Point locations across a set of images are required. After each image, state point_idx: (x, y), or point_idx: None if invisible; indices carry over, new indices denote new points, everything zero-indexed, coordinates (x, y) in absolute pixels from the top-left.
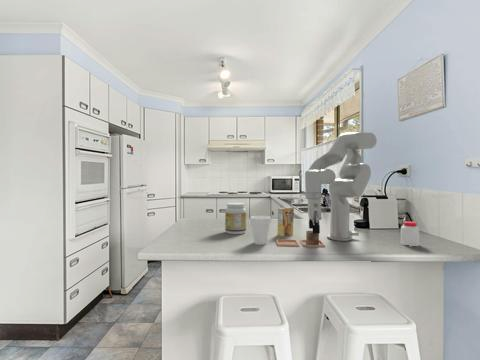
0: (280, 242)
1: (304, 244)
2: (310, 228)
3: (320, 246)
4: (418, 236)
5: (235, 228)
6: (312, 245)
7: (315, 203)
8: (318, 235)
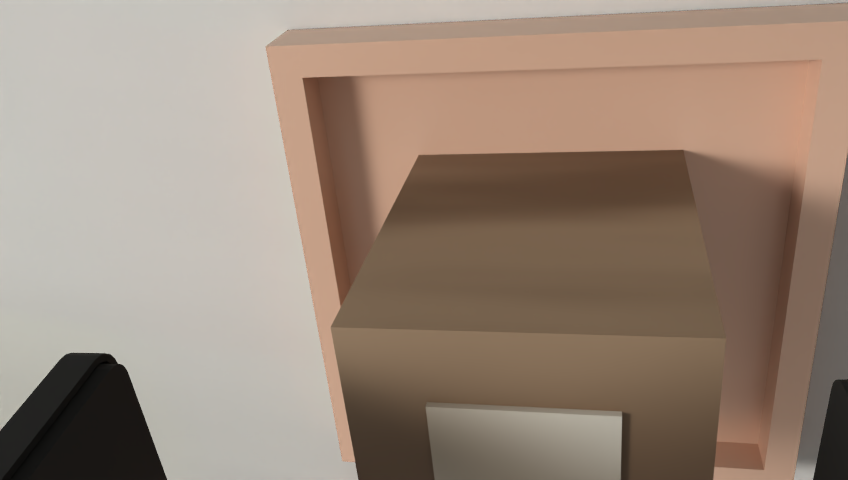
0: None
1: (756, 469)
2: (157, 477)
3: (840, 137)
4: None
5: None
6: (818, 326)
7: None
8: (710, 296)
